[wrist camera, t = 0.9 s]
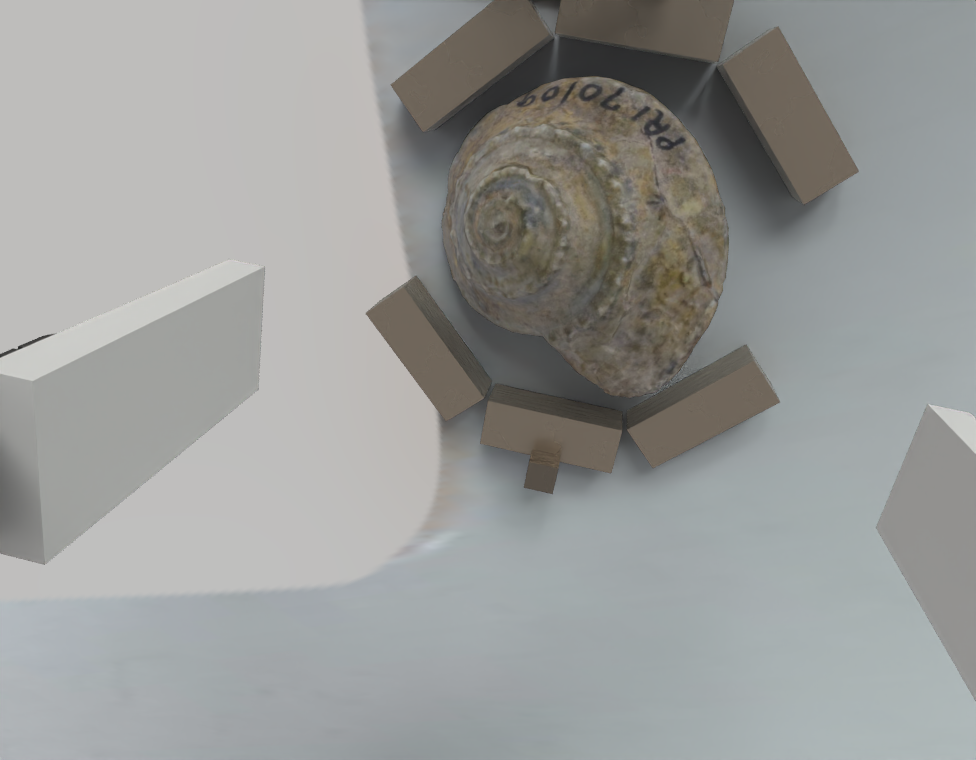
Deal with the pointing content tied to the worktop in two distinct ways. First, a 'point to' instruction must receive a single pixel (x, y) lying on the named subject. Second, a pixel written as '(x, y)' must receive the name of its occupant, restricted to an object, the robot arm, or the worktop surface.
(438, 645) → the worktop surface
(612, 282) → the fossilized seashell
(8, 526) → the robot arm
